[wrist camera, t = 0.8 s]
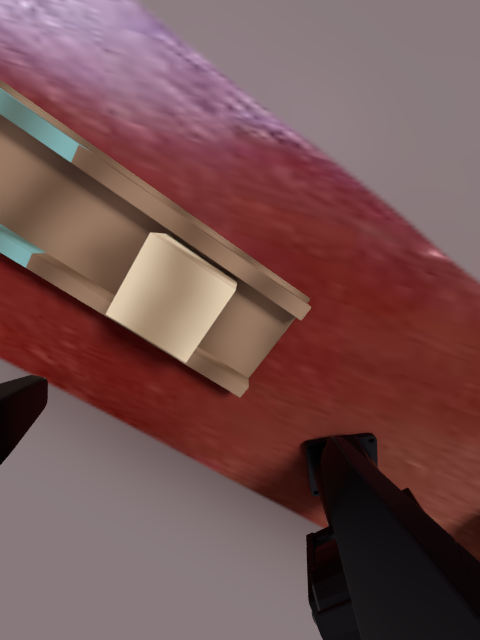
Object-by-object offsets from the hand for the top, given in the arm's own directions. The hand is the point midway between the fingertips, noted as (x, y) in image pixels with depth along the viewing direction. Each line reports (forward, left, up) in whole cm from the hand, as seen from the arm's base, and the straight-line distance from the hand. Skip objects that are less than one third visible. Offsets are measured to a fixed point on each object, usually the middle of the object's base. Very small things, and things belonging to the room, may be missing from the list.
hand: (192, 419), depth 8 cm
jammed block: (+2, +3, -13) cm, 13 cm away
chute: (+5, +6, -14) cm, 16 cm away
